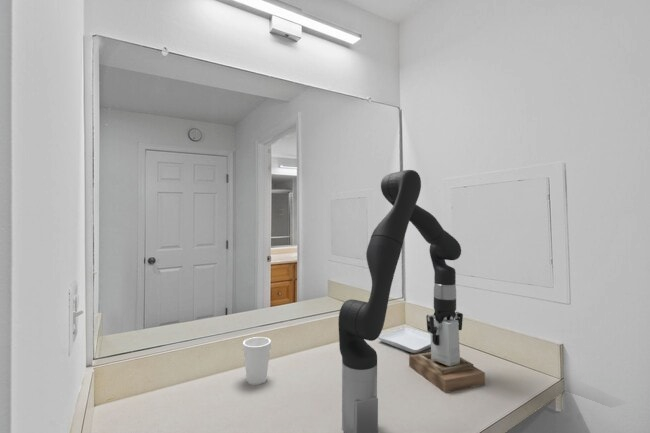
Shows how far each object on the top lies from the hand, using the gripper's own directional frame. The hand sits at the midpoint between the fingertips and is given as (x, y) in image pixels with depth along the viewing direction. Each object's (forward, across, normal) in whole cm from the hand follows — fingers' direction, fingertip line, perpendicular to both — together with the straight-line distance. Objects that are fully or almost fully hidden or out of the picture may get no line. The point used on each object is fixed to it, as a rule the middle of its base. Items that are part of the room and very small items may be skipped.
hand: (444, 343), depth 118 cm
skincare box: (+6, 0, 0) cm, 6 cm away
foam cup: (+11, -63, +18) cm, 66 cm away
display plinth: (+11, 0, 0) cm, 11 cm away
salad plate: (+12, +5, +29) cm, 32 cm away
